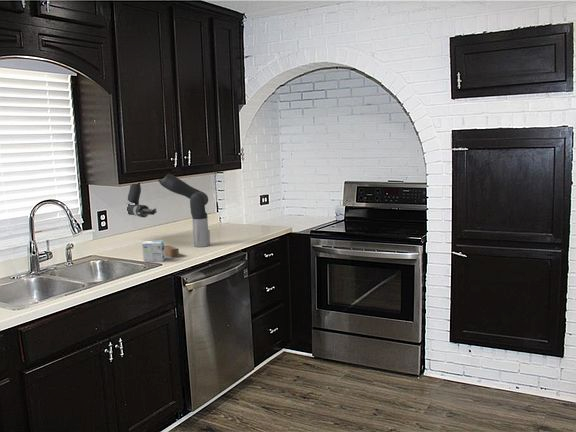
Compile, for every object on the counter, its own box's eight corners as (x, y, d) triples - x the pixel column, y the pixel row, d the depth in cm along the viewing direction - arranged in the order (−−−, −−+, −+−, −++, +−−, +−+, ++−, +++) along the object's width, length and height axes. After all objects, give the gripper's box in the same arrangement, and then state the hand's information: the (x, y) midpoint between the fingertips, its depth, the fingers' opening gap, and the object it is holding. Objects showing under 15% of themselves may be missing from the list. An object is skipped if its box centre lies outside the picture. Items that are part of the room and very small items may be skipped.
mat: (175, 252, 332) (175, 252, 332) (186, 256, 321) (186, 255, 321) (156, 255, 325) (156, 255, 325) (167, 259, 314) (167, 259, 314)
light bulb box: (165, 259, 316) (163, 240, 314) (162, 261, 309) (161, 242, 308) (145, 259, 316) (144, 240, 314) (143, 262, 309) (141, 243, 307)
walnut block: (168, 245, 330) (178, 248, 320) (168, 252, 330) (179, 256, 320) (161, 246, 327) (171, 249, 317) (161, 254, 328) (171, 257, 317)
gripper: (130, 206, 345) (141, 208, 331) (150, 203, 353) (162, 205, 339) (131, 218, 346) (143, 220, 332) (151, 215, 354) (163, 217, 340)
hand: (153, 212), depth 336 cm, fingers closed
